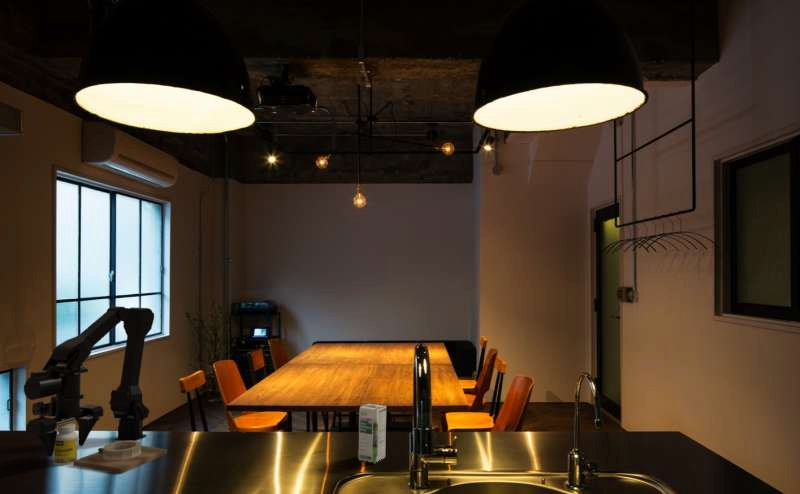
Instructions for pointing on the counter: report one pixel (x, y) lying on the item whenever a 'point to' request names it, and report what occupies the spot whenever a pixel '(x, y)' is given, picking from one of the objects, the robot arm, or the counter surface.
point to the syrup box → (372, 432)
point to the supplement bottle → (65, 445)
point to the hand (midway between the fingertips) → (65, 450)
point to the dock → (119, 464)
